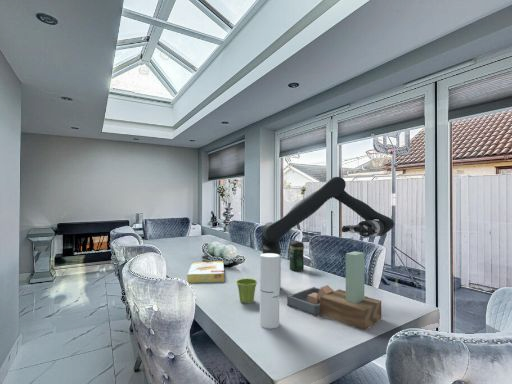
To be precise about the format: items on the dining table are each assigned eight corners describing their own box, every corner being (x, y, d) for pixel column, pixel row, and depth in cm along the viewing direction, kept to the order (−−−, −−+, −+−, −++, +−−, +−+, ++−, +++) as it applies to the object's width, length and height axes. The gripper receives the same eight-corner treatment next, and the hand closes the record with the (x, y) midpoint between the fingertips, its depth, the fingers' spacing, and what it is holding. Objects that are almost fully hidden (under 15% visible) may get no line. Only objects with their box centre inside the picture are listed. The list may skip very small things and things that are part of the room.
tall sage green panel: (355, 304, 104) (355, 255, 104) (345, 301, 106) (345, 253, 107) (364, 299, 108) (364, 252, 109) (354, 296, 111) (354, 251, 112)
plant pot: (241, 306, 118) (241, 285, 119) (232, 299, 127) (233, 280, 127) (260, 302, 123) (261, 282, 123) (251, 296, 131) (251, 277, 131)
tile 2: (327, 293, 114) (320, 287, 116) (322, 302, 115) (316, 296, 117) (333, 290, 117) (327, 285, 119) (329, 299, 118) (322, 294, 121)
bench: (364, 331, 97) (364, 310, 97) (320, 314, 110) (320, 296, 111) (381, 319, 107) (381, 300, 107) (339, 305, 120) (339, 289, 120)
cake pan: (202, 268, 182) (202, 261, 182) (198, 260, 206) (199, 254, 206) (239, 266, 189) (239, 259, 189) (231, 258, 213) (231, 252, 213)
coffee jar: (305, 271, 177) (305, 241, 177) (294, 272, 174) (294, 242, 175) (298, 267, 186) (299, 239, 186) (287, 268, 184) (288, 239, 184)
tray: (316, 316, 109) (316, 306, 109) (287, 305, 120) (287, 296, 120) (342, 304, 122) (342, 295, 122) (313, 295, 133) (313, 286, 133)
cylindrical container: (258, 320, 105) (259, 253, 106) (277, 319, 106) (278, 253, 106) (260, 328, 98) (261, 257, 99) (280, 328, 99) (281, 257, 99)
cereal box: (223, 260, 181) (224, 271, 153) (223, 269, 181) (224, 282, 153) (191, 261, 178) (187, 273, 151) (191, 270, 178) (187, 284, 150)
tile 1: (307, 295, 120) (307, 303, 120) (317, 298, 117) (317, 306, 117) (314, 292, 124) (314, 300, 124) (324, 295, 120) (324, 303, 120)
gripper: (354, 219, 139) (337, 221, 128) (383, 221, 128) (367, 223, 117) (354, 234, 138) (337, 237, 127) (383, 237, 128) (367, 241, 117)
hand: (351, 230), depth 122 cm, fingers open, 8 cm apart
